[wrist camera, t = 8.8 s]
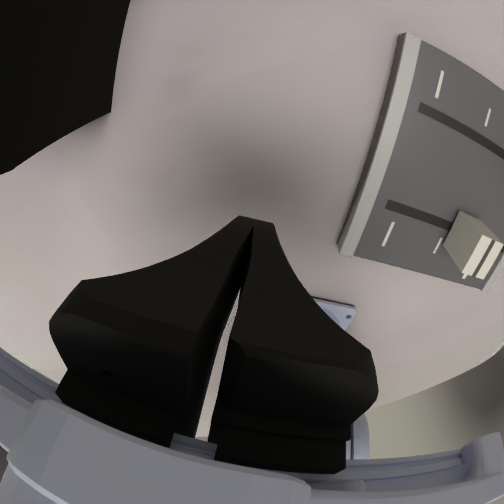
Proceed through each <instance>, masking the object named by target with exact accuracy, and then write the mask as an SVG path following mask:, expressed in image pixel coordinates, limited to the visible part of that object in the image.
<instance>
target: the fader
mask: <svg viewBox="0 0 504 504" xmlns="http://www.w3.org/2000/svg"><path fill="white" fill-rule="evenodd" d="M503 245H504V244H503V243H502V242H501V241H500V240H499V239H498V238H497V236H496V235H495V234H494V233H493V232H492V231H491V230H490V229H489V228H488V227H487V226H486V225H485V224H484V223H483V222H482V221H481V220H479V219H477V218H475V217H473V216H471V215H469V214H466V213H464V212H462V211H459V213H458V215H457V217H456V219H455V222H454V224H453V226H452V228H451V230H450V232H449V234H448V236H447V238H446V240H445V242H444V244H443V246H444V247H445V249H446V250H447V252H448V253H449V255H450V256H451V258H452V259H453V261H454V262H455V264H456V265H457V267H458V268H459V270H460V271H461V273H464V274H467V275H470V276H472V277H477V278H480V279H483V280H484V278H485V276H486V275H487V273H488V271H489V270H490V268H491V266H492V265H493V263H494V261H495V259H496V258H497V256H498V254H499V252H500V250H501V249H502V247H503Z"/></svg>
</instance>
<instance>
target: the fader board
mask: <svg viewBox="0 0 504 504" xmlns="http://www.w3.org/2000/svg"><path fill="white" fill-rule="evenodd" d="M459 211H462V212H464V213H466V214H469V215H471V216H473V217H475V218H477V219H479V220H481V221H482V222H483V223H484V224H485V225H486V226H487V227H488V228H489V229H490V230H491V231H492V232H493V233H494V234H495V235H496V236H497V238H498V239H499V240H500V241H501V242H502V243H503V244H504V91H503V90H502V89H501V88H499V87H498V86H497V85H495V84H494V83H492V82H491V81H490V80H488V79H487V78H485V77H484V76H482V75H481V74H479V73H478V72H476V71H475V70H473V69H472V68H470V67H469V66H467V65H466V64H464V63H462V62H461V61H459V60H457V59H456V58H454V57H452V56H450V55H449V54H447V53H445V52H443V51H442V50H440V49H438V48H436V47H434V46H432V45H430V44H428V43H426V42H424V41H422V40H421V38H419V37H417V36H415V35H412V34H410V33H408V32H406V33H403V34H401V35H399V37H398V42H397V47H396V52H395V56H394V61H393V65H392V70H391V74H390V78H389V82H388V86H387V90H386V94H385V98H384V102H383V105H382V109H381V113H380V116H379V120H378V123H377V127H376V130H375V134H374V137H373V140H372V144H371V147H370V150H369V154H368V157H367V160H366V163H365V166H364V169H363V172H362V175H361V178H360V181H359V184H358V187H357V190H356V193H355V196H354V199H353V202H352V205H351V207H350V210H349V213H348V216H347V218H346V221H345V224H344V227H343V229H342V232H341V235H340V237H339V240H338V242H337V245H338V250H339V254H340V255H345V256H349V257H352V256H357V257H361V258H365V259H369V260H373V261H377V262H381V263H385V264H389V265H392V266H396V267H400V268H404V269H408V270H412V271H415V272H419V273H423V274H427V275H430V276H434V277H438V278H442V279H445V280H449V281H453V282H456V283H460V284H464V285H467V286H471V287H474V288H478V289H480V290H481V291H482V292H486V293H488V292H489V290H490V288H491V287H492V285H493V284H494V282H495V281H496V279H497V277H498V276H499V274H500V273H501V271H502V269H503V268H504V245H503V247H502V249H501V250H500V252H499V254H498V256H497V258H496V259H495V261H494V263H493V265H492V266H491V268H490V270H489V271H488V273H487V275H486V276H485V278H484V280H483V279H480V278H477V277H472V276H470V275H467V274H464V273H461V271H460V270H459V268H458V267H457V265H456V264H455V262H454V261H453V259H452V258H451V256H450V255H449V253H448V252H447V250H446V249H445V247H444V246H443V244H444V242H445V240H446V238H447V236H448V234H449V232H450V230H451V228H452V226H453V224H454V222H455V219H456V217H457V215H458V213H459Z"/></svg>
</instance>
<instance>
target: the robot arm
mask: <svg viewBox="0 0 504 504" xmlns="http://www.w3.org/2000/svg"><path fill="white" fill-rule="evenodd" d="M240 287H241V288H240ZM239 290H240V295H239V302H238V309H237V313H236V316H235V320H234V323H233V326H232V330H231V333H230V336H229V341H228V346H227V351H226V356H225V361H224V365H223V370H222V375H221V380H220V385H219V390H218V395H217V399H216V403H215V407H214V411H213V415H212V419H211V426H210V431H209V436H208V442H206V441H202V440H198V439H195V435H196V431H197V427H198V423H199V419H200V415H201V411H202V407H203V403H204V399H205V395H206V391H207V388H208V384H209V380H210V376H211V372H212V369H213V365H214V361H215V357H216V354H217V350H218V346H219V343H220V340H221V337H222V334H223V331H224V329H225V326H226V323H227V321H228V318H229V316H230V313H231V311H232V308H233V305H234V303H235V300H236V298H237V295H238V293H239ZM355 314H356V308H355V307H353V306H349V305H344V304H339V303H334V302H329V301H324V300H320V299H315V298H312V297H311V296H310V295H309V293H308V292H307V291H306V290H305V288H304V287H303V285H302V284H301V282H300V281H299V280H298V278H297V276H296V275H295V273H294V271H293V270H292V268H291V266H290V264H289V262H288V260H287V258H286V256H285V254H284V252H283V249H282V247H281V245H280V242H279V239H278V236H277V233H276V230H275V226H274V224H273V223H270V222H265V221H261V220H257V219H252V218H248V217H243V216H238V217H236V218H235V219H234V220H232V221H231V222H230V223H229V224H227V225H226V226H225V227H224V228H222V229H221V230H220V231H218V232H217V233H215V234H214V235H213V236H211V237H210V238H208V239H207V240H205V241H203V242H202V243H200V244H198V245H197V246H195V247H193V248H192V249H190V250H188V251H186V252H184V253H182V254H180V255H177V256H175V257H173V258H170V259H168V260H165V261H162V262H159V263H157V264H154V265H151V266H148V267H145V268H142V269H138V270H135V271H131V272H127V273H122V274H118V275H113V276H107V277H101V278H95V279H89V280H82V281H81V282H80V283H79V284H78V285H77V286H76V287H75V288H74V289H73V290H72V292H71V293H70V294H69V295H68V297H67V298H66V299H65V300H64V302H63V303H62V304H61V305H60V307H59V308H58V309H57V311H56V312H55V313H54V315H53V316H52V318H51V319H50V321H49V330H50V334H51V337H52V340H53V342H54V344H55V346H56V348H57V350H58V352H59V354H60V356H61V358H62V360H63V361H64V363H65V365H66V367H67V369H68V370H67V372H66V373H65V375H64V377H63V379H62V380H61V382H60V384H57V383H55V382H53V381H51V380H50V379H48V378H46V377H44V376H43V375H41V374H39V373H38V372H36V371H34V370H33V369H31V368H30V367H28V366H27V365H25V364H23V363H22V362H20V361H19V360H17V359H16V358H14V357H13V356H11V355H10V354H9V353H7V352H6V351H4V350H3V349H1V348H0V445H1V446H2V447H3V448H4V449H5V450H6V451H7V452H8V455H7V460H8V462H9V464H8V466H7V468H6V471H5V473H4V476H3V478H2V480H1V483H0V504H489V503H491V502H492V501H495V500H496V499H498V498H500V497H502V496H504V451H503V446H502V441H501V437H500V433H498V432H497V433H493V434H489V435H485V436H481V437H478V438H476V439H474V440H472V441H470V442H469V443H467V444H466V445H464V446H463V447H462V448H461V449H457V450H452V451H446V452H440V453H434V454H427V455H419V456H411V457H400V458H387V459H369V431H368V423H367V418H366V415H365V414H364V413H365V412H366V411H367V410H368V409H369V408H370V407H371V406H372V405H373V403H374V402H375V401H376V399H377V396H378V392H379V391H378V384H377V376H376V370H375V366H374V362H373V359H372V355H371V351H370V350H369V349H367V348H366V347H365V346H364V345H362V344H361V343H360V342H358V341H357V340H356V339H355V338H353V337H352V336H351V335H349V334H348V333H347V332H346V330H347V328H348V326H349V325H350V323H351V321H352V319H353V318H354V316H355ZM347 315H349V316H347Z"/></svg>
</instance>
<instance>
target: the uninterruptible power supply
mask: <svg viewBox="0 0 504 504" xmlns="http://www.w3.org/2000/svg"><path fill="white" fill-rule="evenodd" d="M129 4H130V0H0V175H1V174H4V173H6V172H9V171H11V170H13V169H14V168H15V167H17V166H18V165H20V164H21V163H22V162H24V161H25V160H27V159H28V158H30V157H31V156H33V155H34V154H36V153H37V152H39V151H41V150H42V149H44V148H45V147H47V146H49V145H50V144H52V143H53V142H55V141H57V140H58V139H60V138H62V137H64V136H65V135H67V134H69V133H71V132H72V131H74V130H76V129H78V128H80V127H82V126H84V125H85V124H87V123H89V122H91V121H93V120H95V119H97V118H99V117H101V116H103V115H105V114H108V113H110V112H111V105H112V96H113V87H114V80H115V73H116V66H117V60H118V54H119V48H120V43H121V38H122V33H123V29H124V24H125V20H126V16H127V11H128V7H129Z"/></svg>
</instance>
